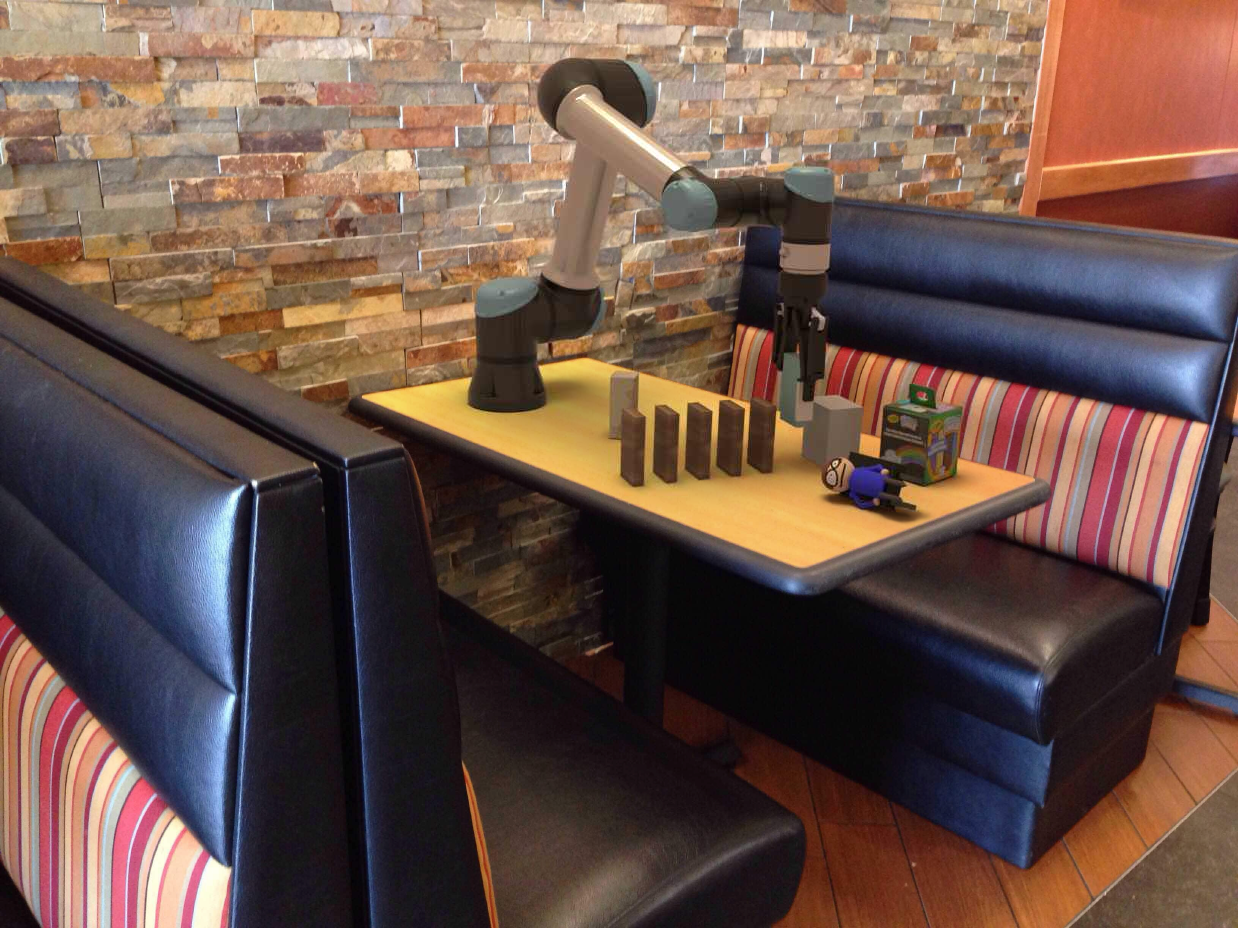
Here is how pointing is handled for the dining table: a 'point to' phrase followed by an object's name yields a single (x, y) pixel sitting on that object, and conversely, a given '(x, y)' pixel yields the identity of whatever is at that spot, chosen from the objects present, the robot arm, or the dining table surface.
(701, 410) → the tile
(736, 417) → the tile
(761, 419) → the tile
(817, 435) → the end block
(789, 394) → the tile
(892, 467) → the character figurine
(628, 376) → the box
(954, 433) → the chalk box
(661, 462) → the tile
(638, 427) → the tile
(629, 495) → the dining table surface
